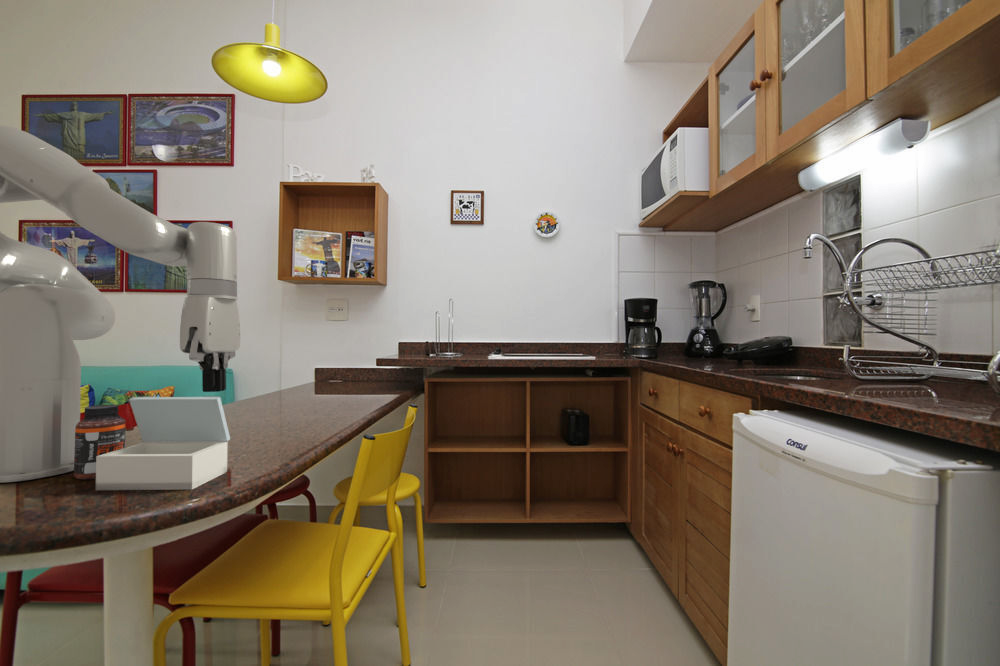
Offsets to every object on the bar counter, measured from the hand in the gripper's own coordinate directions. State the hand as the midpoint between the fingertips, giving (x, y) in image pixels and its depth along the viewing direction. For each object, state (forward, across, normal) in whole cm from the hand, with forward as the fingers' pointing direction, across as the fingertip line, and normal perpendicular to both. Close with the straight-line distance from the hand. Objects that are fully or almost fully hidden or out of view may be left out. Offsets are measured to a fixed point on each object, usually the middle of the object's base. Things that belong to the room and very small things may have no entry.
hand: (214, 390), depth 74 cm
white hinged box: (+13, +10, -1) cm, 16 cm away
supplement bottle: (+13, +7, -14) cm, 20 cm away
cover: (+4, +8, -1) cm, 9 cm away
